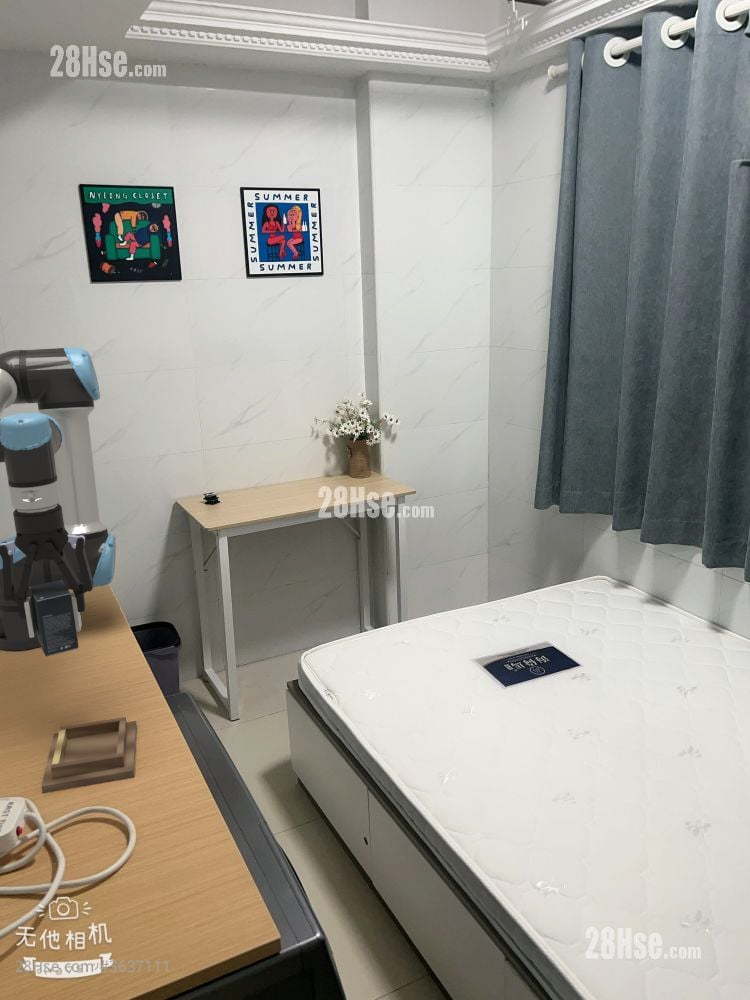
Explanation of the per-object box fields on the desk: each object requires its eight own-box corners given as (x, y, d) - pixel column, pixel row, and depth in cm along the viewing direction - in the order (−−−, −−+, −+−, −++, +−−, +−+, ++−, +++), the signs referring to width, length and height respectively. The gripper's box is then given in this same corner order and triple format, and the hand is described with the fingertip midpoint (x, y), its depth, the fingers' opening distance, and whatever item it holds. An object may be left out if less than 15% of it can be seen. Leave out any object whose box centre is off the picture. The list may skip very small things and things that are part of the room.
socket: (54, 739, 134) (52, 723, 133) (136, 726, 137) (134, 711, 136) (42, 792, 120) (39, 775, 119) (133, 776, 123) (131, 760, 122)
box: (79, 648, 131) (71, 593, 128) (45, 657, 128) (35, 601, 125) (70, 631, 138) (62, 578, 135) (37, 640, 135) (28, 585, 132)
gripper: (-34, 518, 120) (-10, 648, 126) (97, 507, 125) (113, 632, 131) (-23, 505, 127) (-1, 629, 133) (100, 495, 132) (116, 615, 138)
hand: (56, 631), depth 132 cm, fingers closed on box, 7 cm apart
